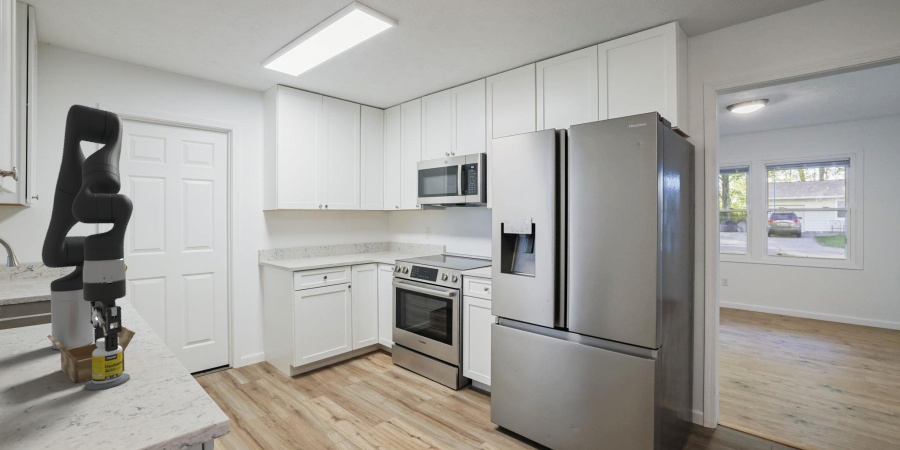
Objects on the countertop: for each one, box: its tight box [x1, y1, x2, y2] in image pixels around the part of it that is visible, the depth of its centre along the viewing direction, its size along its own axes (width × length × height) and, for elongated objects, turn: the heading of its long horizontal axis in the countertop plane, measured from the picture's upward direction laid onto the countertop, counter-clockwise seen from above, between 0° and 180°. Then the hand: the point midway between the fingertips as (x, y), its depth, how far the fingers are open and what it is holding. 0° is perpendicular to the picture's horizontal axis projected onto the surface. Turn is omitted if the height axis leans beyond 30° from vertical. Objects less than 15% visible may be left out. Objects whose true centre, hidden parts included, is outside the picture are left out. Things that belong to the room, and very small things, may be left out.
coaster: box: [84, 372, 131, 391], centre depth 92 cm, size 8×8×1 cm
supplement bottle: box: [91, 337, 123, 384], centre depth 92 cm, size 5×5×10 cm
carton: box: [46, 325, 136, 384], centre depth 100 cm, size 14×14×10 cm
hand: (106, 346), depth 92 cm, fingers open, 8 cm apart
